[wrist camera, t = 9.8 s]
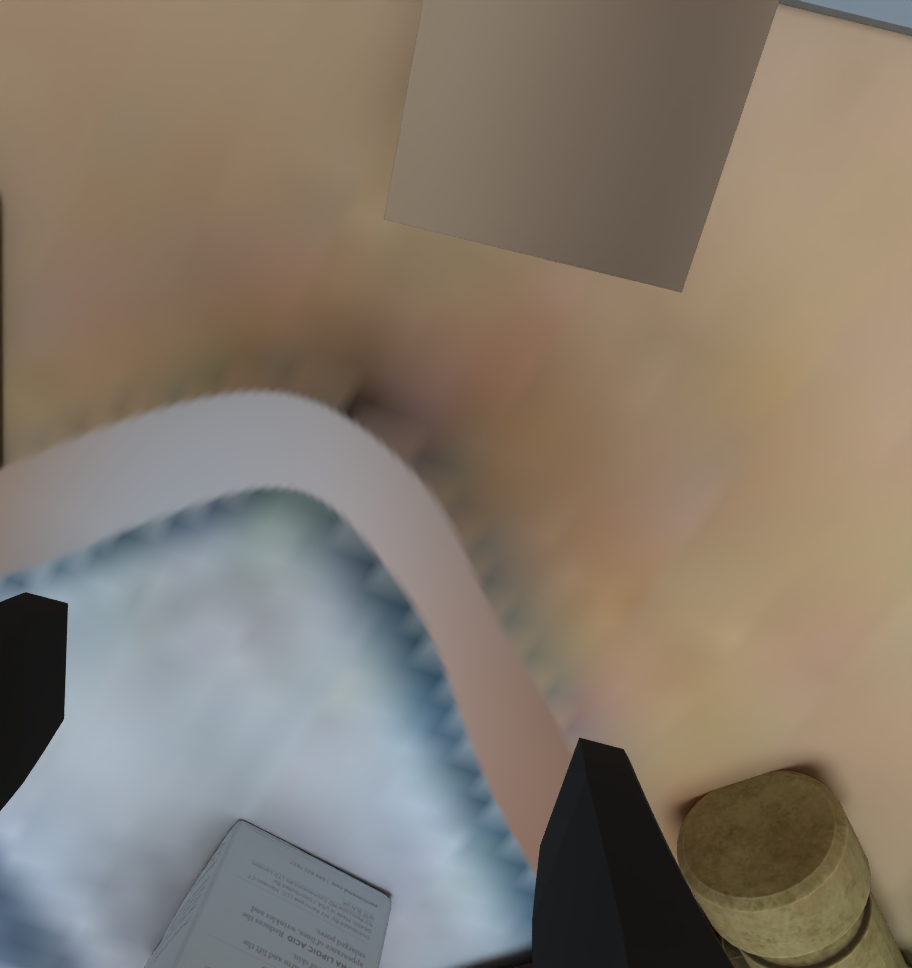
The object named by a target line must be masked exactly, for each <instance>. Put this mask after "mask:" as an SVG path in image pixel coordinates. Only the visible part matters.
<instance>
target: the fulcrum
mask: <svg viewBox="0 0 912 968" xmlns="http://www.w3.org/2000/svg"><path fill="white" fill-rule="evenodd" d="M779 3H780V4H784V5H789V6H793V7H797V8H801V9H805V10H809V11H813V12H817V13H821V14H825V15H829V16H833V17H837V18H841V19H846V20H850V21H854V22H858V23H862V24H866V25H870V26H874V27H878V28H882V29H886V30H890V31H894V32H898V33H903V34H907V35H911V36H912V0H779Z"/></svg>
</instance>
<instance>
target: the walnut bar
mask: <svg viewBox="0 0 912 968" xmlns="http://www.w3.org/2000/svg"><path fill="white" fill-rule="evenodd" d="M778 3H779V0H423V3H422V9H421V15H420V20H419V26H418V31H417V37H416V42H415V48H414V54H413V59H412V65H411V70H410V76H409V81H408V87H407V93H406V98H405V104H404V109H403V115H402V120H401V126H400V132H399V137H398V143H397V148H396V154H395V159H394V165H393V171H392V176H391V182H390V187H389V193H388V198H387V204H386V210H385V215H384V220H388V221H392V222H396V223H400V224H405V225H409V226H413V227H417V228H421V229H425V230H429V231H433V232H437V233H441V234H445V235H449V236H453V237H458V238H462V239H466V240H470V241H474V242H478V243H482V244H486V245H490V246H494V247H498V248H502V249H506V250H511V251H515V252H519V253H523V254H527V255H531V256H535V257H539V258H543V259H547V260H551V261H555V262H559V263H564V264H568V265H572V266H576V267H580V268H584V269H588V270H592V271H596V272H600V273H604V274H608V275H612V276H617V277H621V278H625V279H629V280H633V281H637V282H641V283H645V284H649V285H653V286H657V287H661V288H665V289H670V290H674V291H678V292H682V290H683V287H684V284H685V281H686V278H687V275H688V272H689V269H690V266H691V263H692V260H693V257H694V254H695V251H696V248H697V245H698V242H699V239H700V236H701V233H702V230H703V227H704V224H705V221H706V218H707V215H708V212H709V209H710V206H711V203H712V200H713V197H714V194H715V191H716V188H717V185H718V182H719V179H720V176H721V173H722V170H723V167H724V164H725V161H726V158H727V155H728V152H729V149H730V146H731V143H732V140H733V137H734V134H735V131H736V128H737V125H738V123H739V120H740V117H741V114H742V111H743V108H744V105H745V102H746V99H747V96H748V93H749V90H750V87H751V84H752V81H753V78H754V75H755V72H756V69H757V66H758V63H759V60H760V57H761V54H762V51H763V48H764V45H765V42H766V39H767V36H768V33H769V30H770V27H771V24H772V21H773V18H774V15H775V12H776V9H777V6H778Z"/></svg>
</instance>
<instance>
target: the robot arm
mask: <svg viewBox="0 0 912 968" xmlns="http://www.w3.org/2000/svg"><path fill="white" fill-rule="evenodd" d="M67 615H68V603H64V602H61V601H57V600H53V599H49V598H45V597H42V596H38V595H34V594H30V593H26V592H25V593H22V594H20V595H17V596H14V597H12V598H9V599H7V600H4V601H2V602H0V811H1V809H2V808H3V807H4V806H5V805H6V803H7V802H8V801H9V800H10V799H11V797H12V796H13V795H14V794H15V792H16V791H17V790H18V789H19V787H20V786H21V785H22V784H23V782H24V781H25V779H26V778H27V776H28V775H29V773H30V772H31V770H32V769H33V767H34V766H35V764H36V763H37V761H38V760H39V758H40V757H41V755H42V754H43V752H44V750H45V749H46V747H47V746H48V744H49V742H50V741H51V739H52V738H53V736H54V734H55V733H56V731H57V730H58V728H59V726H60V725H61V723H62V722H63V720H64V704H65V674H66V645H67ZM532 968H734V966H733V964H732V963H731V961H730V960H729V958H728V956H727V954H726V953H725V951H724V949H723V947H722V946H721V944H720V942H719V941H718V939H717V937H716V935H715V934H714V932H713V930H712V928H711V927H710V925H709V923H708V921H707V920H706V918H705V916H704V914H703V912H702V910H701V909H700V907H699V905H698V903H697V901H696V899H695V898H694V896H693V894H692V892H691V890H690V888H689V886H688V884H687V882H686V880H685V878H684V876H683V874H682V872H681V870H680V868H679V866H678V864H677V862H676V860H675V858H674V857H673V855H672V853H671V850H670V848H669V846H668V844H667V842H666V840H665V838H664V836H663V834H662V832H661V830H660V827H659V825H658V823H657V821H656V819H655V817H654V814H653V812H652V810H651V808H650V806H649V804H648V801H647V799H646V797H645V795H644V792H643V790H642V788H641V785H640V783H639V781H638V779H637V776H636V774H635V772H634V769H633V767H632V765H631V762H630V760H629V758H628V756H627V754H626V753H625V751H624V749H621V748H617V747H613V746H609V745H605V744H602V743H598V742H594V741H590V740H586V739H582V738H579V740H578V743H577V746H576V748H575V751H574V754H573V757H572V760H571V762H570V765H569V768H568V770H567V773H566V776H565V779H564V781H563V784H562V787H561V790H560V792H559V796H558V798H557V801H556V804H555V806H554V809H553V812H552V814H551V817H550V820H549V823H548V825H547V828H546V831H545V834H544V836H543V839H542V842H541V845H540V851H539V861H538V869H537V878H536V887H535V897H534V907H533V918H532Z"/></svg>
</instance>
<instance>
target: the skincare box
mask: <svg viewBox="0 0 912 968" xmlns="http://www.w3.org/2000/svg"><path fill="white" fill-rule="evenodd" d="M391 903H392V902H391V900H390V899H389V898H388V897H387V896H386V895H385V894H383V893H381V892H379V891H377V890H376V889H374V888H372V887H370V886H368V885H366V884H364V883H363V882H361V881H359V880H357V879H355V878H353V877H351V876H349V875H347V874H345V873H343V872H341V871H339V870H337V869H335V868H334V867H332V866H330V865H328V864H326V863H324V862H322V861H320V860H318V859H316V858H314V857H313V856H311V855H309V854H307V853H305V852H303V851H301V850H299V849H297V848H296V847H294V846H292V845H290V844H288V843H287V842H285V841H283V840H281V839H278V838H277V837H275V836H273V835H271V834H269V833H267V832H265V831H263V830H261V829H259V828H257V827H255V826H253V825H251V824H249V823H247V822H245V821H238V822H237V823H236V824H235V825H234V826H233V828H232V829H231V830H230V831H229V833H228V834H227V835H226V837H225V838H224V840H223V841H222V843H221V844H220V846H219V847H218V849H217V850H216V852H215V853H214V855H213V856H212V858H211V859H210V861H209V862H208V864H207V865H206V867H205V868H204V870H203V871H202V873H201V874H200V876H199V878H198V879H197V881H196V882H195V884H194V885H193V887H192V888H191V890H190V891H189V893H188V894H187V896H186V898H185V899H184V901H183V902H182V904H181V906H180V907H179V909H178V911H177V913H176V914H175V916H174V918H173V919H172V921H171V923H170V925H169V927H168V929H167V930H166V933H165V935H164V937H163V939H162V941H161V943H160V944H159V945H158V947H157V948H156V950H155V951H154V952H153V954H152V955H151V956H150V958H149V960H148V961H147V963H146V965H145V967H144V968H379V964H380V959H381V954H382V949H383V944H384V940H385V935H386V930H387V925H388V920H389V915H390V910H391Z"/></svg>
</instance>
